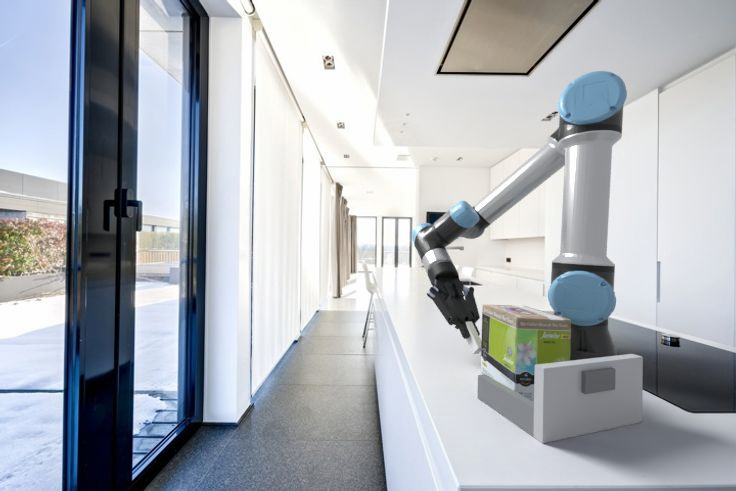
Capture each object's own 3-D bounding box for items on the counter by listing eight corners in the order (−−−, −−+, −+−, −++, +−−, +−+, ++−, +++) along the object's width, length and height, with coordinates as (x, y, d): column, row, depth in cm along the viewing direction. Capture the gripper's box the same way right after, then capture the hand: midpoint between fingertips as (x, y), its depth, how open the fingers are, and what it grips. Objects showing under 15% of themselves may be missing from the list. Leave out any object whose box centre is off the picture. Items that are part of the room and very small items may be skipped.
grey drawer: (563, 385, 61) (563, 334, 62) (646, 423, 48) (647, 358, 48) (477, 398, 55) (478, 340, 55) (546, 446, 42) (547, 370, 42)
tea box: (572, 406, 53) (573, 318, 53) (513, 406, 52) (515, 317, 53) (524, 372, 68) (526, 303, 68) (479, 371, 68) (480, 302, 68)
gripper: (455, 278, 89) (494, 356, 73) (413, 278, 85) (445, 361, 69) (467, 260, 84) (512, 340, 68) (423, 259, 80) (460, 344, 64)
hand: (478, 350), depth 69 cm, fingers closed
